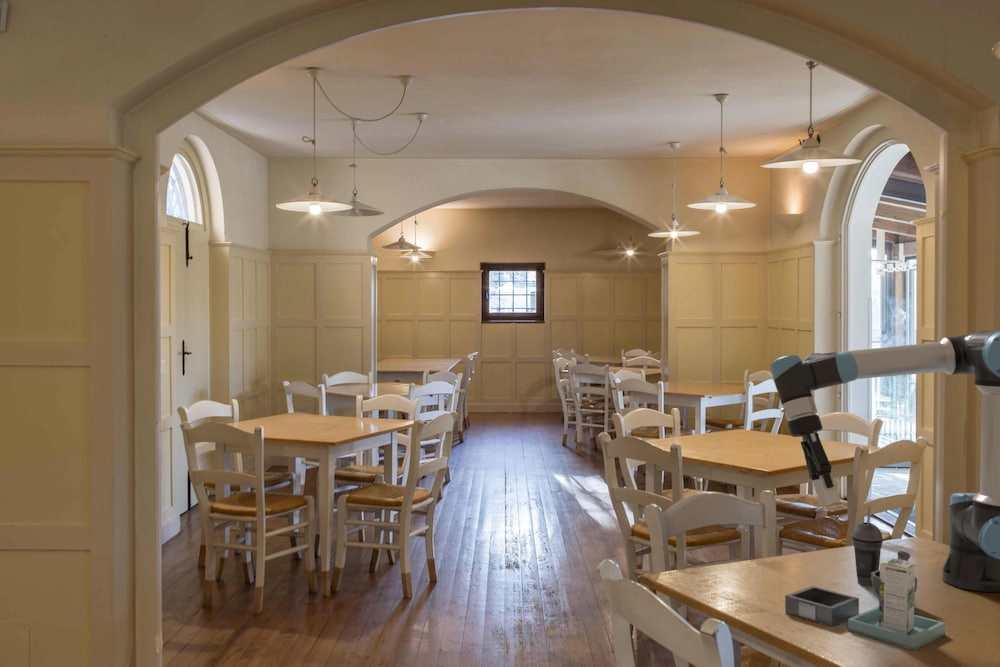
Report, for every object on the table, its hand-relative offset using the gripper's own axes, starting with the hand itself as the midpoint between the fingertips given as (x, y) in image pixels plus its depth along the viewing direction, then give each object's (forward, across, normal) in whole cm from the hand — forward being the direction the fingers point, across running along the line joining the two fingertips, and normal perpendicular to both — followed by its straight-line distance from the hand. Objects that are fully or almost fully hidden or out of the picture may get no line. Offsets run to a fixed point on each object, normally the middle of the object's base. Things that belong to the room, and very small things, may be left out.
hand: (830, 504), depth 194 cm
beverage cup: (+21, -24, +6) cm, 32 cm away
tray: (+29, +10, +3) cm, 31 cm away
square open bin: (+23, +2, -10) cm, 25 cm away
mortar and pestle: (+25, -9, +8) cm, 28 cm away
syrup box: (+29, +10, +4) cm, 31 cm away
